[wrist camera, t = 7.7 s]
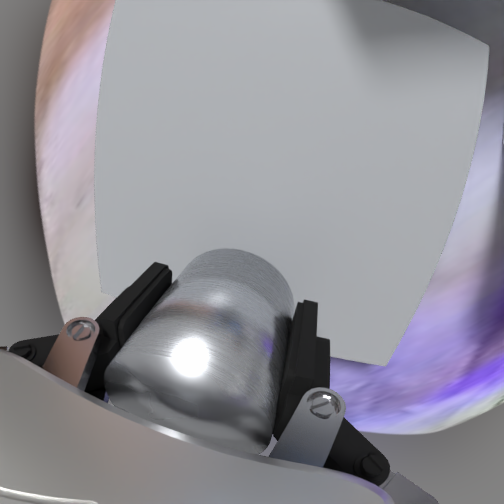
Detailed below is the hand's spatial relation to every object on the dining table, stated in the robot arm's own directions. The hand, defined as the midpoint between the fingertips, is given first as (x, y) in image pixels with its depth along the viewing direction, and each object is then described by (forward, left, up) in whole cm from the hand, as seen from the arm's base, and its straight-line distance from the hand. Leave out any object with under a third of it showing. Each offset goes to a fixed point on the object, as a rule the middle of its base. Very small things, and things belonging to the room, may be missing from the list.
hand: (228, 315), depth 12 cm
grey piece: (0, 0, -1) cm, 1 cm away
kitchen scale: (0, -5, -6) cm, 8 cm away
